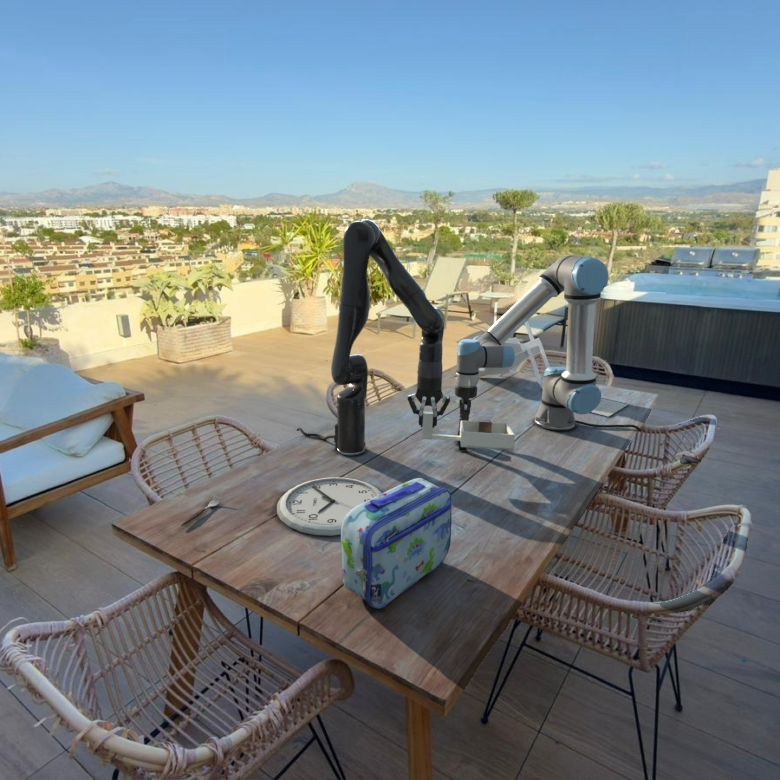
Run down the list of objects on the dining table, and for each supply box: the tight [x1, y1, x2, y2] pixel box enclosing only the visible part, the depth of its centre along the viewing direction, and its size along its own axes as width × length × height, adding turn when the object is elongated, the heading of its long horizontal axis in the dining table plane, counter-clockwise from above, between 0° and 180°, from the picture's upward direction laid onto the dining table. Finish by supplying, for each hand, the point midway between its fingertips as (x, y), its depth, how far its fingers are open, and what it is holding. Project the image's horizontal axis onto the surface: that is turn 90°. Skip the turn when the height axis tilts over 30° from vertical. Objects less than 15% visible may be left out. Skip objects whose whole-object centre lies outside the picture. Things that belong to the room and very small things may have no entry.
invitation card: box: [591, 398, 628, 418], centre depth 226 cm, size 21×1×15 cm
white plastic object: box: [478, 320, 551, 390], centre depth 259 cm, size 37×45×31 cm
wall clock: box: [276, 476, 383, 537], centre depth 143 cm, size 30×2×30 cm
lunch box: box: [340, 477, 452, 610], centre depth 110 cm, size 26×11×21 cm, turn 134°
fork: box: [180, 491, 225, 527], centre depth 138 cm, size 3×16×2 cm, turn 160°
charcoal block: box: [456, 427, 460, 446], centre depth 185 cm, size 4×4×5 cm
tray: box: [421, 411, 516, 452], centre depth 163 cm, size 27×21×8 cm
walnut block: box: [478, 419, 493, 433], centre depth 168 cm, size 4×4×5 cm
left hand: (427, 426), depth 165 cm, fingers closed on tray, 3 cm apart
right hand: (462, 442), depth 185 cm, fingers open, 12 cm apart
